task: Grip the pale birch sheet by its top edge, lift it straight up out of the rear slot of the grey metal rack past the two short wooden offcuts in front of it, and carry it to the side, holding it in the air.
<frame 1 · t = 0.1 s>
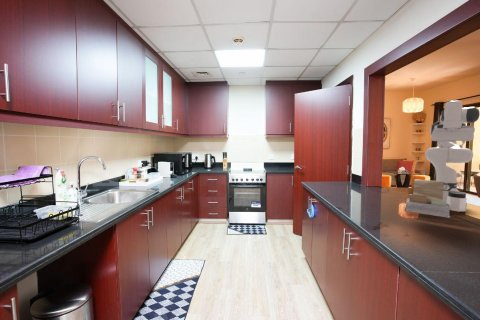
hand: (450, 147, 153), 39 cm above the counter, tool pointing down, fingers open, 8 cm apart
jar: (455, 212, 148), on the counter
sheet: (426, 210, 146), point 1 cm above the counter, touching rack
offcut short: (437, 213, 140), point 1 cm above the counter, touching rack
rack: (426, 213, 144), on the counter
offcut tall: (417, 210, 146), point 1 cm above the counter, touching rack
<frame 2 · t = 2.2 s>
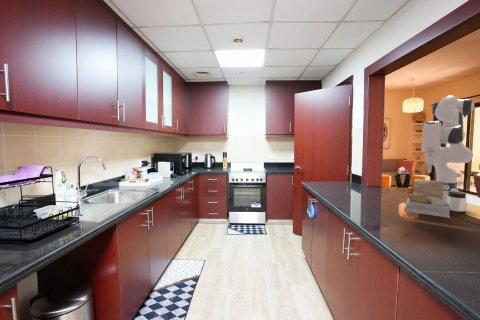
hand: (429, 171, 144), 25 cm above the counter, tool pointing down, fingers open, 8 cm apart
nothing on the counter moved.
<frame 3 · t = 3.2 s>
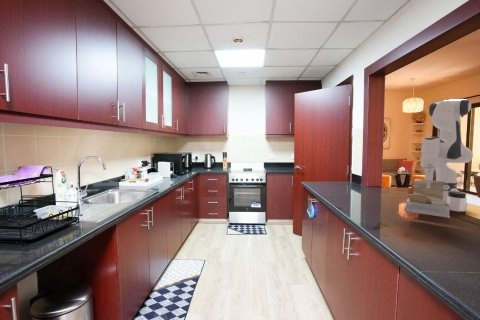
hand: (428, 186, 145), 16 cm above the counter, tool pointing down, fingers open, 8 cm apart
nothing on the counter moved.
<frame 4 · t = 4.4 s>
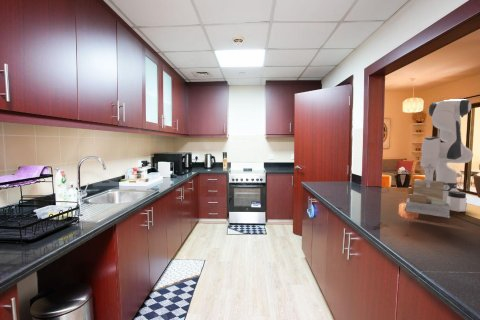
hand: (428, 186, 145), 16 cm above the counter, tool pointing down, fingers closed on sheet, 2 cm apart
sheet: (426, 210, 146), point 2 cm above the counter, touching gripper, rack
everything else where it was.
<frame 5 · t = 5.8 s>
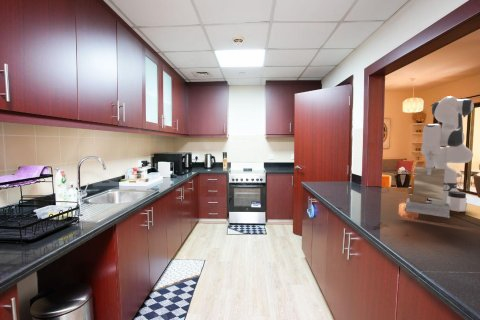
hand: (429, 174, 145), 23 cm above the counter, tool pointing down, fingers closed on sheet
sheet: (427, 197, 146), point 9 cm above the counter, touching gripper
everything else where it was.
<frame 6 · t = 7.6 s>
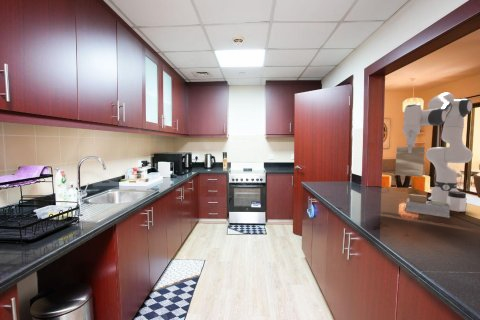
hand: (409, 153, 150), 36 cm above the counter, tool pointing down, fingers closed on sheet
sheet: (408, 175, 151), point 21 cm above the counter, touching gripper
everything else where it was.
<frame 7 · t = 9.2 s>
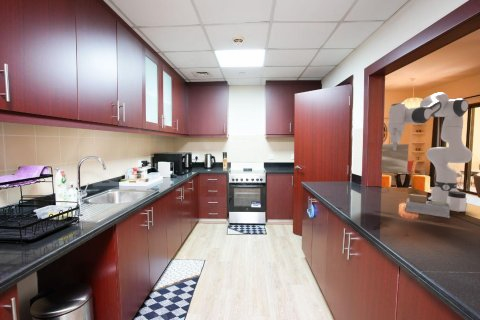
hand: (395, 150, 155), 37 cm above the counter, tool pointing down, fingers closed on sheet
sheet: (393, 172, 156), point 23 cm above the counter, touching gripper
everything else where it was.
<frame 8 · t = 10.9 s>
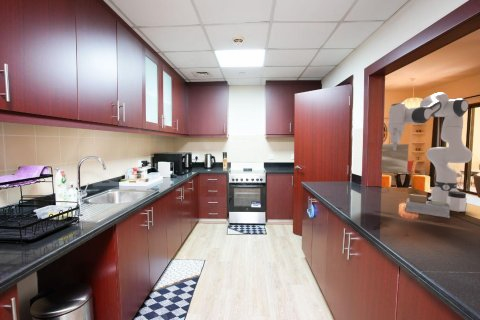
hand: (395, 150, 155), 37 cm above the counter, tool pointing down, fingers closed on sheet
sheet: (393, 172, 156), point 23 cm above the counter, touching gripper
everything else where it was.
at the end: the gripper is holding sheet; sheet inside the target area (1.5 cm from its centre), point 22.9 cm above the counter; offcut tall moved 0.1 cm from its start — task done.
